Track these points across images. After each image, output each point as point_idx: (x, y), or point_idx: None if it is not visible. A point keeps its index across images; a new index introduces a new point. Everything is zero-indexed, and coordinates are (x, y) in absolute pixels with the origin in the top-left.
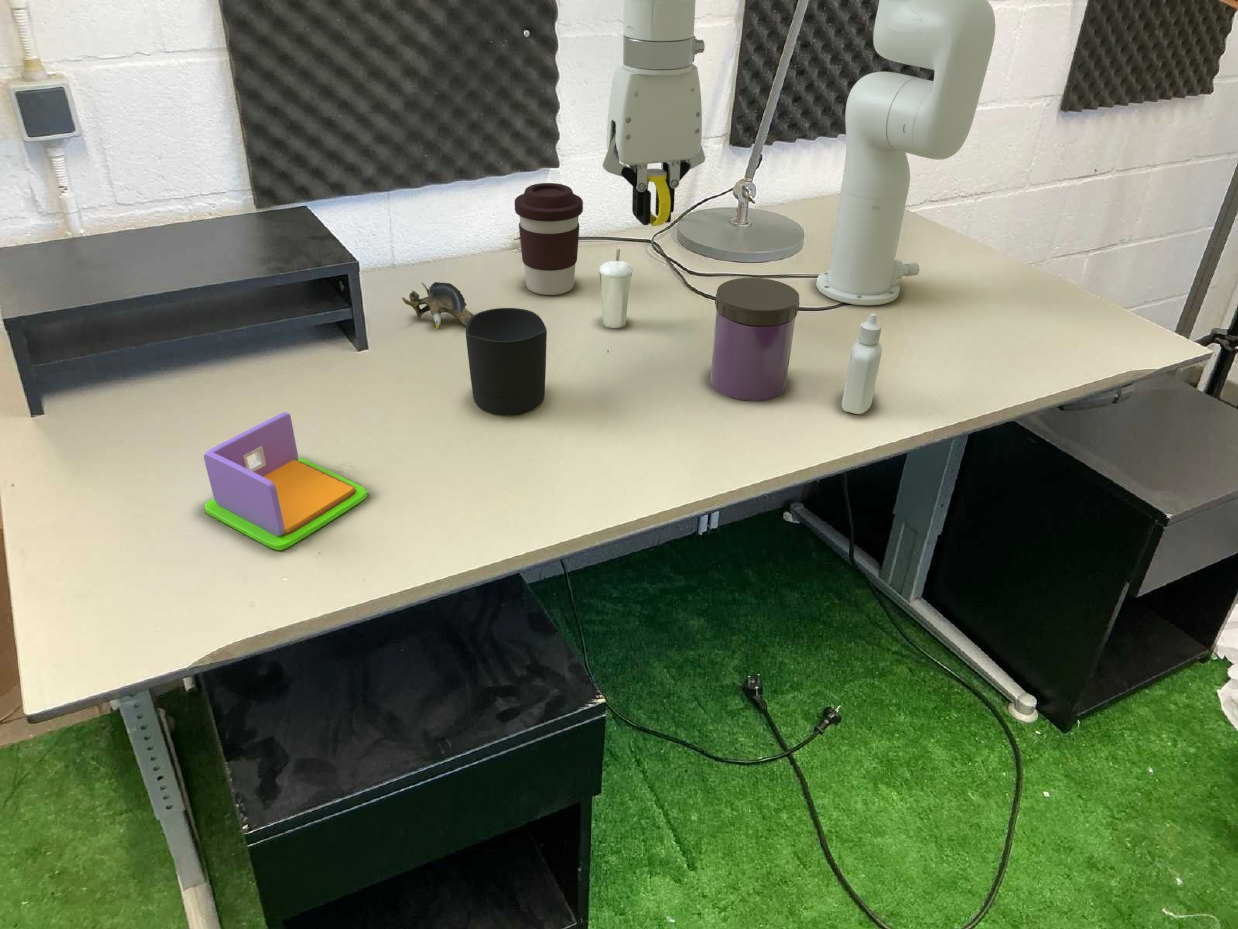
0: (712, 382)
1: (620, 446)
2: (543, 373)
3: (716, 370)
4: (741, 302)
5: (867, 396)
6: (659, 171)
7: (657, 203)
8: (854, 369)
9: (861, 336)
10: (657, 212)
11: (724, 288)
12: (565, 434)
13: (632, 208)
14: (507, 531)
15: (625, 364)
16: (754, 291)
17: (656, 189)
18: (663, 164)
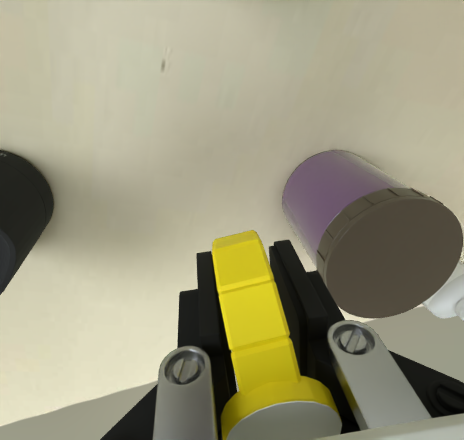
0: (283, 200)
1: (143, 300)
2: (37, 238)
3: (289, 217)
4: (349, 293)
5: None
6: (311, 428)
7: (279, 281)
8: (422, 303)
9: (461, 314)
10: (272, 265)
11: (351, 241)
12: (83, 276)
13: (180, 297)
14: (31, 394)
15: (183, 118)
16: (393, 257)
17: (291, 306)
18: (359, 422)
